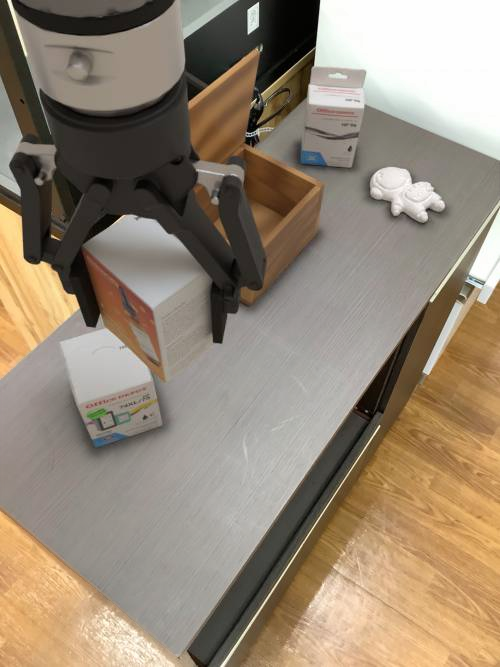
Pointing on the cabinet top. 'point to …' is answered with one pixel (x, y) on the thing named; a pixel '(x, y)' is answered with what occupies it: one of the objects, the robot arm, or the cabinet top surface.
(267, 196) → the chest
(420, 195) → the astronaut figurine
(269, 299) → the cabinet top surface
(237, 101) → the lid
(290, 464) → the cabinet top surface
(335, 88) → the ink box
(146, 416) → the ink box
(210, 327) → the small box
